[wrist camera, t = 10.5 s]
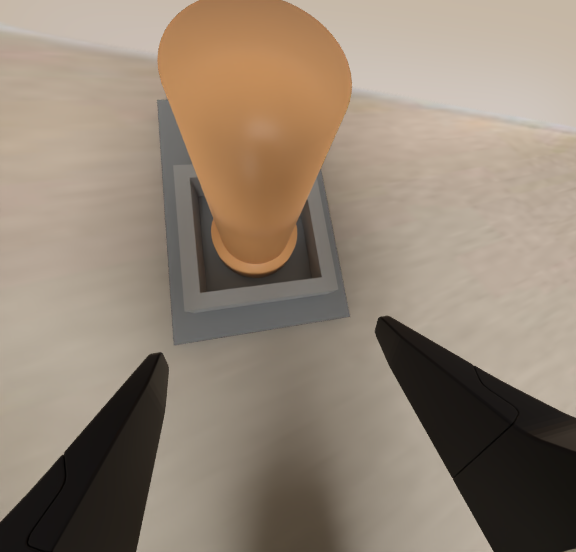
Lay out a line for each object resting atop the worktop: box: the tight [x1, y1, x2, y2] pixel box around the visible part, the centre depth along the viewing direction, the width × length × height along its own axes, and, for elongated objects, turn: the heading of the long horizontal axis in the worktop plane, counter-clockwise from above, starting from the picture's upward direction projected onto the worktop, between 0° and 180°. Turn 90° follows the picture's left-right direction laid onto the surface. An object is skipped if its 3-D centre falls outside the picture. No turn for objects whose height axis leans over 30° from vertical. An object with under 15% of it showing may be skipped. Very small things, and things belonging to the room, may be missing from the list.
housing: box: [157, 100, 350, 345], centre depth 18 cm, size 20×13×4 cm, turn 9°
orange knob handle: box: [158, 0, 352, 278], centre depth 12 cm, size 6×6×13 cm
